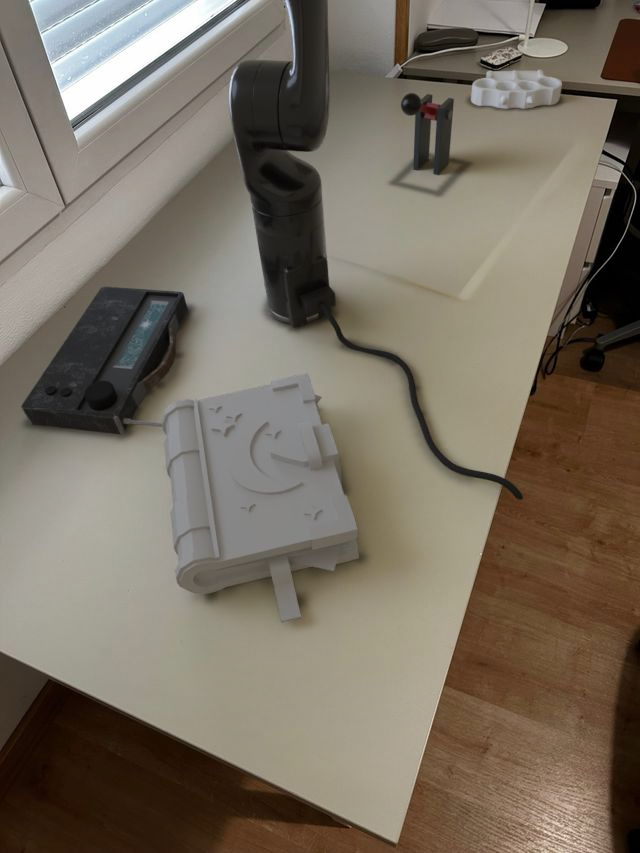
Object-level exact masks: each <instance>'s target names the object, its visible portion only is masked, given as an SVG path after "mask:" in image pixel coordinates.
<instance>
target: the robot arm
mask: <svg viewBox="0 0 640 853" xmlns="http://www.w3.org/2000/svg"><path fill="white" fill-rule="evenodd" d="M282 2H283V4H284V7H285V11H286V14H287V18H288V23H289V28H290V34H291V43H292V60H276V59H246V60H243V61H241V62H239V63H238V64H237V65H236V66H235V67H234V70H233V71H232V73H231V75H230V76H231V77H230V80H229V86H228V111H229V118H230V123H231V128H232V134H233V138H234V141H235V146H236V150H237V154H238V159H239V163H240V168H241V173H242V177H243V181H244V182H243V183H244V186H245V188H246V190H247V192H248V194H249V199H250V203H251V209H252V215H253V222H254V226H255V234H256V241H257V246H258V252H259V259H260V265H261V270H262V276H263V283H264V289H265V294H266V304H267V310H268V313H269V314H270V315H271V316H272V317H273V318H274V319H275V320H277V321H279V322H280V323H281V322H282V323H284V324H288V325H291V327H292V328H294V329H295V328H298V327H300V326H304V325H306V324H309V323H311V322H314V321H317V320H319V319H321V318H324V317H326V318H327V320H328V321H329V323H330V324H331V326H332V327H333V329H334V332H335V334H336V337H337V339H338V340H339V342H340V343H341V344H342V345H344V346H345V347H346V348H348V349H351V350H353V351H357V352H362V353H366V354H369V355H372V356H377V357H382V358H386V359H388V360H391V361H393V362H395V363H396V364H397V365H399V366H400V367H401V369H402V370H403V371H404V373H405V376H406V378H407V380H408V381H407V383H408V388H409V396H410V397H409V398H410V401H411V406H412V408H413V411H414V414H415V415H416V418H417V420H418V423H419V426H420V429H421V432H422V435H423V439H424V440H425V442H426V444H427V446H428V448H429V449H430V451H431V452H432V454H433V455H434V456H435V457H436V458H437V460H438V461H439V462H440V463H442V465H443V466H445V467H446V468H448V469H449V470H451V471H452V472H454V473H457V474H459V475H462V476H467V477H469V478H471V477H472V478H474V479H480V480H485V481H490V482H493V483H496V484H499V485H501V486H502V487H504V488H505V489H506V490H508V491H509V492H510V493H511V494H512V495H513V497H514V498H515V499H517V500H519V501H522V500H524V496H523V494H522V492H521V491H520V490H519V488H518V486H517V487H516V485H515V484H513V483H512V482H511V481H509V480H508V479H506V478H505V477H502V476H500V475H497V474H495V473H490V472H486V471H482V470H481V471H480V470H477V469H476V470H475V469H470V468H466V467H464V466H460V465H457V464H456V463H454V462H452V461H451V460H450V459H448V457H446V456H445V455H444V454H443V453H442V452H441V451H440V450H439V448H438V447H437V445H436V443H435V441H434V439H433V437H432V435H431V433H430V430H429V428H428V425H427V421H426V419H425V416H424V414H423V411H422V408H421V407H420V404H419V399H418V394H417V387H416V382H415V378H414V374H413V372H412V370H411V368H410V367H409V365H408V364H407V363H406V362H405V361H404V360H403V359H402V358H401V357H399V356H398V355H396V354H394V353H392V352H388V351H385V350H380V349H372V348H367V347H362V346H359V345H356V344H355V343H353V342H351V341H349V339H347V338H346V337H345V336H344V334H343V332H342V329H341V326H340V325H339V323H338V322H337V320H336V318H335V317H334V315H333V314H332V308H333V307H336V305H337V304H336V292H335V291H334V290H333V289H332V288H331V286H330V278H329V265H328V264H329V263H328V257H327V256H328V255H327V254H328V252H327V241H326V226H325V214H324V212H325V211H324V200H323V198H324V197H323V184H322V178H321V175H320V173H319V171H318V170H317V169H316V168H315V167H314V166H313V165H312V164H310V163H308V162H306V161H305V160H303V159H301V158H299V157H298V156H295V155H294V154H292V153H291V152H300V153H301V152H302V153H313V152H316V151H317V150H319V149H320V147H321V146H322V145H323V144H324V140H325V139H326V135H327V131H328V125H329V118H330V100H331V99H330V47H329V46H330V45H329V44H330V43H329V0H282Z"/></svg>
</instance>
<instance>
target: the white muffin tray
mask: <svg viewBox="0 0 640 853" xmlns="http://www.w3.org/2000/svg"><path fill="white" fill-rule="evenodd" d="M471 84H472V85H471V93H470V94H471V95H470V101H471V103H472V104H473V105H475V106H478V107H493V108H497V109H502V110H510V109H523V110H525V109H533V108H535V107H540V106H553V105H556V104H557V103H558V102H559V101H560V98H561V94H562V87H563V82H562V80H561V79H559V78H556V77H553V76H547V75H545V74H544V70H542V69H537V70H517V69H513V70H494V71H493V70H487V71H486V75H485V77H481V78H478V79H476V80H474V81H473V82H472V83H471Z"/></svg>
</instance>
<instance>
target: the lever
mask: <svg viewBox="0 0 640 853" xmlns="http://www.w3.org/2000/svg"><path fill="white" fill-rule="evenodd" d="M421 99H422V98H421V97H420V96H419V95H418V94H417V93H414V92H409V93H406V94H405V95H404V96H403V97H402V99H401V102H400V107H401V111H402V112H403V113H404V115H406V116H409V117H410V116H411V117H413V116H415V114H417V113H418V112H419V111H421V112H424V113H425V114H424V118H426V119H430V120H431V121H435V122H437V108H438V107H439V106H440V105H441V104H438V103H433V102H432V103H428V102H427V106H426V105H423V104H421Z"/></svg>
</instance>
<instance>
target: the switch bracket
mask: <svg viewBox="0 0 640 853" xmlns="http://www.w3.org/2000/svg"><path fill="white" fill-rule="evenodd" d="M420 99H421V104H423V105H426V106H427V102H428V103H433V94H430V93H427V94H425V95H423V97H422V98H420ZM454 103H455V98H452V97H448V98H447V99H445V101H443V103H442V104H439V105H440V106H439V107H438V108H437V121H436V124H435V126H436V127H435V142H434V156H433V157H434V158H433V172H432V174H433V175H436V176H439V175H440V174H441V173H442V172H443V171H444V170H445V169H446V168H447V167H448V165H450V152H451V142H452V128H453V127H452V126H453V115H454ZM424 114H425V113H424V112H421V111H419V112H418V113H417V114H415V115H414V116H415V117H414V138H413V139H414V140H413V141H414V142H413V162H412V163H413V164H412V168H413V169H412V170H413V171H419V170H420V169H422V168H423V166H425V165H426V163H427V162H429V160H430V146H431V126H432V120H430V119H426V118H424Z"/></svg>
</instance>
